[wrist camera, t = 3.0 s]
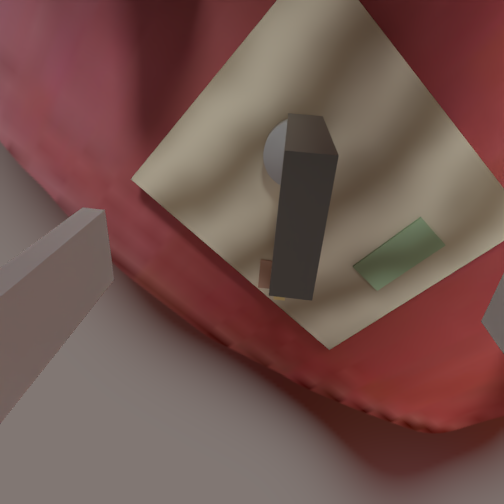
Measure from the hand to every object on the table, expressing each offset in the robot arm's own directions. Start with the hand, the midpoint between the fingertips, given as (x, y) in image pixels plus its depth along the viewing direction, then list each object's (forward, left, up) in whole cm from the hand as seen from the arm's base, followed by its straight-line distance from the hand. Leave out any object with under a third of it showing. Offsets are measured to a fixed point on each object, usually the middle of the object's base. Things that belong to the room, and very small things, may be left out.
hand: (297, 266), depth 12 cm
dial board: (+4, -1, -17) cm, 17 cm away
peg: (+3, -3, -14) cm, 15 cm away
